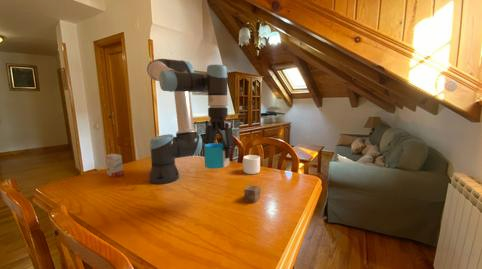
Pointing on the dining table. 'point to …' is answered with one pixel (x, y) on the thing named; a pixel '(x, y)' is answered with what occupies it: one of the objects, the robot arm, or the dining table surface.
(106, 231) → the dining table surface
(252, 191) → the walnut cube
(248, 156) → the mug
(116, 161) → the ink box
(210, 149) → the mug
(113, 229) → the dining table surface
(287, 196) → the dining table surface
